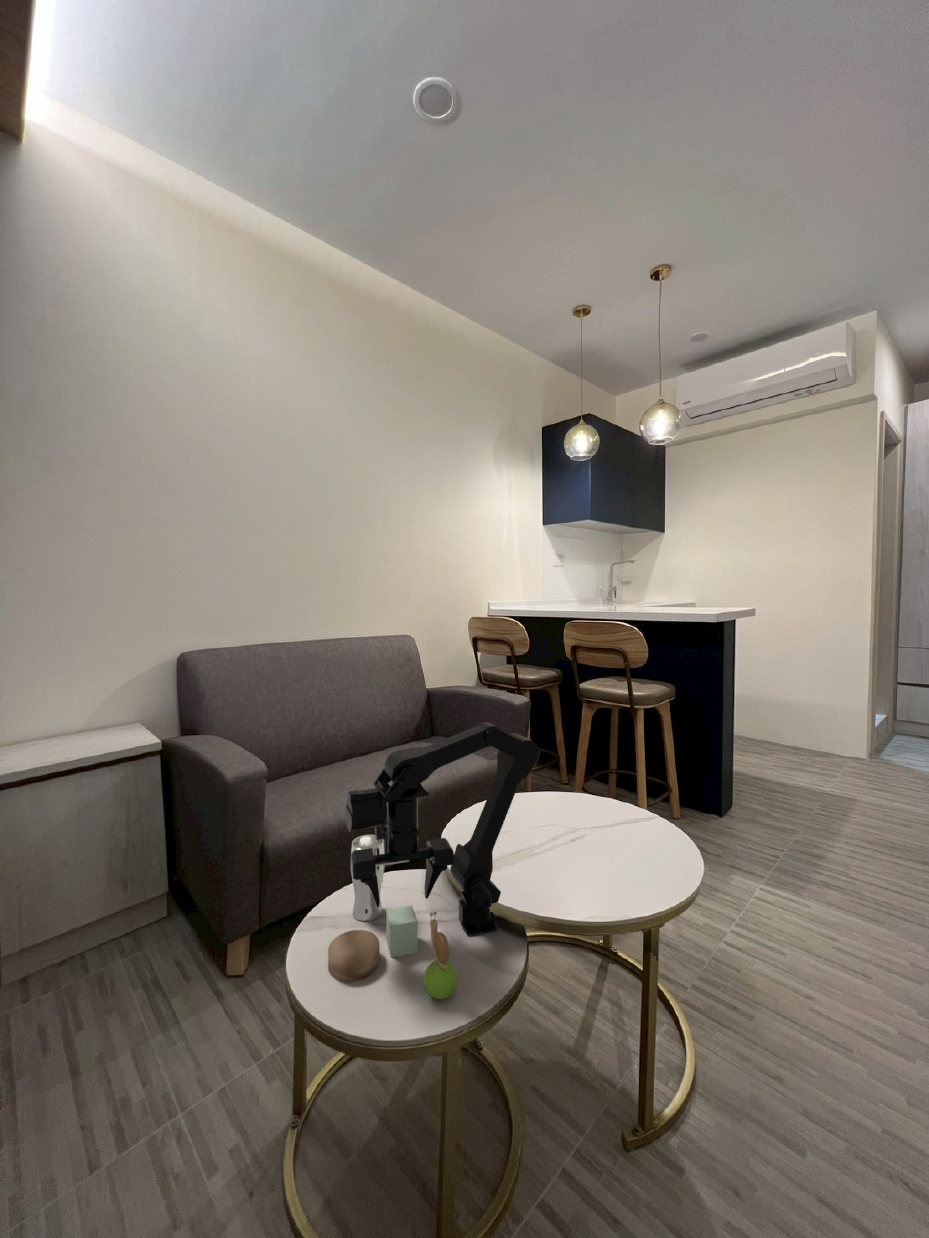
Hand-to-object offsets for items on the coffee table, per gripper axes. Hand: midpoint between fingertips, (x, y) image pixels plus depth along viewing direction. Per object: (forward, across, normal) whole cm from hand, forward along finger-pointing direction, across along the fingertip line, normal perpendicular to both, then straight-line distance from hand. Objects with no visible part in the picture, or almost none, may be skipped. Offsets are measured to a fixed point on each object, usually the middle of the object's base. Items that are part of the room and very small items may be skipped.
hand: (402, 901), depth 94 cm
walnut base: (+8, +9, +2) cm, 13 cm away
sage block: (+8, 0, 0) cm, 9 cm away
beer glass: (+9, +5, -12) cm, 16 cm away
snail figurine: (+9, -4, +13) cm, 16 cm away
